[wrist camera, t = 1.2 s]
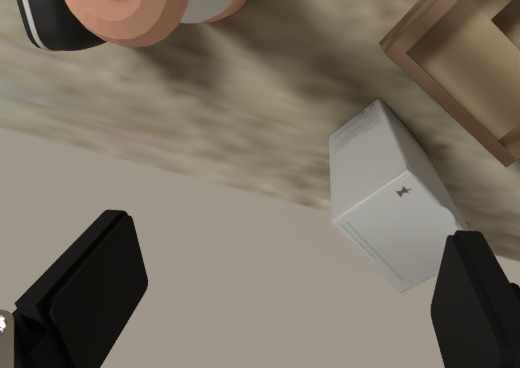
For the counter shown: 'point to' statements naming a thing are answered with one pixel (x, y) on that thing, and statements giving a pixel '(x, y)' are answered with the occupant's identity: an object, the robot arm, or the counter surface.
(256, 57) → the counter surface
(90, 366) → the robot arm
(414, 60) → the box
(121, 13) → the salt shaker
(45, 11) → the battery charger
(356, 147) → the skincare box
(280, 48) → the counter surface
